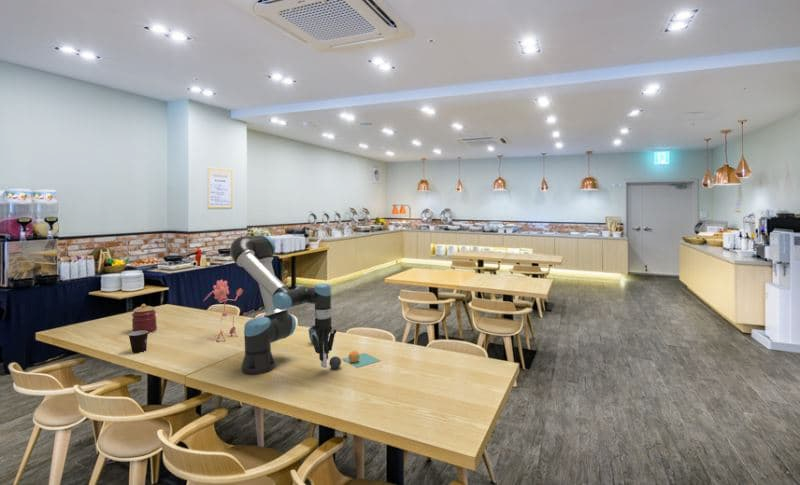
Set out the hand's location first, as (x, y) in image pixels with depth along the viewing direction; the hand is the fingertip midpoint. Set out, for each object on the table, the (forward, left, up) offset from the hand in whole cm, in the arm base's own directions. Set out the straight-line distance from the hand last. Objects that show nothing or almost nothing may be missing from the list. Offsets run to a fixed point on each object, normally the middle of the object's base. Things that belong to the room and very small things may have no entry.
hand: (323, 366), depth 188 cm
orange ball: (+17, 0, +1) cm, 17 cm away
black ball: (+6, -1, +1) cm, 6 cm away
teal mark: (+21, 0, -2) cm, 21 cm away
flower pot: (+17, +38, -2) cm, 42 cm away
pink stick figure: (-23, +82, -2) cm, 85 cm away
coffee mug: (-63, +87, -2) cm, 107 cm away
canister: (-57, +126, -2) cm, 138 cm away
